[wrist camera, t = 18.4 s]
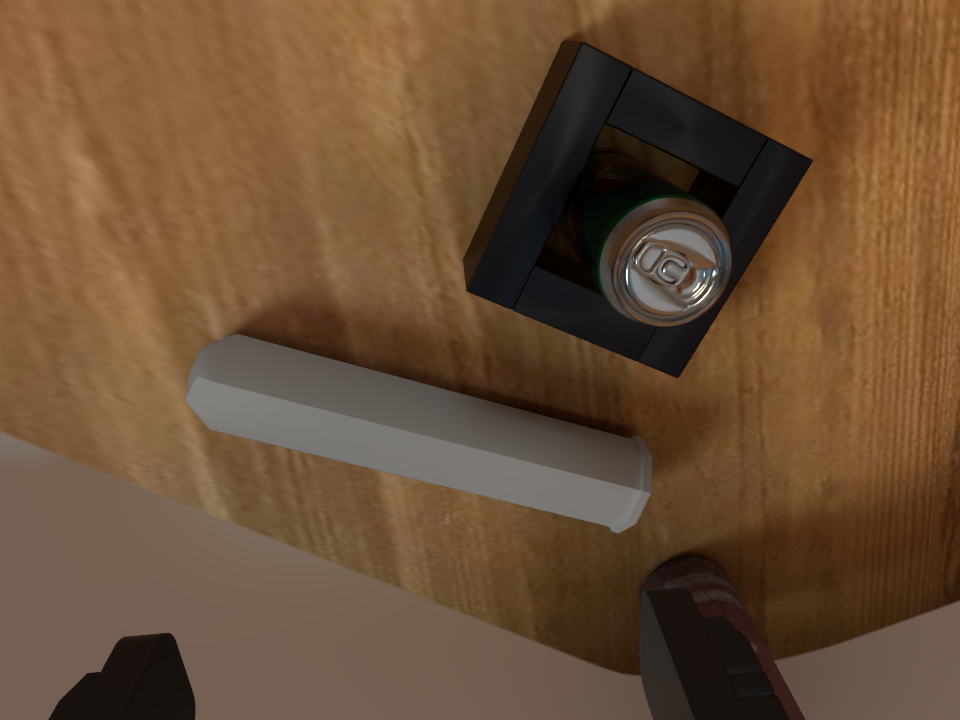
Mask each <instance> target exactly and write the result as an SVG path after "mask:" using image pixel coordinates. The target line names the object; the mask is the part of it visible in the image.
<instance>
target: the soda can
mask: <svg viewBox="0 0 960 720" xmlns="http://www.w3.org/2000/svg"><path fill="white" fill-rule="evenodd" d="M557 221H558V224H559V226H560V228H561V230H562V232H563V234H564V235H565V237H566V238H567V240H568V241H569V243H570V245H571V246H572V248H573V249H574V251H575V252H576V254H577V255H578V257H579V259H580V260H581V262H582V263H583V265H584V266H585V268H586V269H587V271H588V273H589V274H590V276H591V277H592V279H593V280H594V282H595V284H596V285H597V287H598V288H599V290H600V291H601V293H602V294H603V296H604V298H605V299H606V300H607V302H608V303H609V305H610V306H611V307H612V308H613V309H614V310H615V311H616V312H617V313H619V314H620V315H622V316H623V317H625V318H627V319H629V320H631V321H633V322H636V323H640V324H644V325H654V326H675V325H680V324H684V323H687V322H690V321H692V320H694V319H696V318H698V317H699V316H701V315H702V314H704V313H705V312H706V311H707V310H709V309H710V308H711V307H712V306H713V305H714V304H715V303H716V301H717V300H718V299H719V298H720V296H721V295H722V293H723V291H724V290H725V287H726V285H727V283H728V280H729V277H730V273H731V265H732V261H731V244H730V239H729V234H728V232H727V229H726V227H725V225H724V223H723V221H722V220H721V218H720V217H719V216H718V215H717V213H716V212H715V211H714V210H713V209H712V208H710V207H709V206H708V205H706V204H705V203H703V202H702V201H700V200H699V199H697V198H695V197H694V196H692V195H691V194H689V193H687V192H686V191H684V190H683V189H681V188H679V187H678V186H676V185H675V184H673V183H671V182H670V181H668V180H667V179H665V178H663V177H662V176H660V175H659V174H657V173H655V172H654V171H652V170H651V169H649V168H647V167H646V166H644V165H643V164H641V163H639V162H638V161H636V160H635V159H633V158H631V157H629V156H627V155H624V154H621V153H616V152H602V153H597V154H593V155H591V156H589V157H588V159H587V161H586V163H585V165H584V167H583V169H582V171H581V173H580V175H579V177H578V179H577V181H576V183H575V185H574V187H573V189H572V191H571V193H570V195H569V197H568V199H567V201H566V203H565V205H564V207H563V209H562V211H561V213H560V215H559V217H558V219H557Z"/></svg>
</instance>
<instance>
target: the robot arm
mask: <svg viewBox="0 0 960 720" xmlns="http://www.w3.org/2000/svg"><path fill="white" fill-rule="evenodd" d="M639 660H640V670H641V677H642V683H643V687H644V691H645V694H646V698H647V701H648V705H649V708H650V711H651V714H652V717H653V720H790V719H789V717H788V715H787V713H786V711H785V709H784V707H783V705H782V703H781V701H780V699H779V697H778V695H775V692H774V688H773V686H772V684H771V682H770V680H769V678H768V676H767V674H766V672H763V669H762V665H761V663H760V661H759V659H758V657H757V655H756V653H755V651H754V649H753V647H752V645H751V643H750V642H749V640H748V638H747V637H746V636H745V635H744V634H742V633H741V632H740V631H739V630H738V629H737V628H736V627H735V626H734V625H733V624H732V623H731V622H729V621H728V620H727V619H726V618H725V617H724V616H716V617H706V618H702V616H701V614H700V612H699V610H698V607H697V605H696V603H695V601H694V599H693V597H692V594H691V592H690V591H689V589H688V588H687V587H677V588H666V589H655V590H644V591H643V592H642V595H641V614H640V648H639ZM49 720H195V699H194V694H193V691H192V688H191V685H190V682H189V679H188V676H187V673H186V670H185V667H184V664H183V661H182V658H181V655H180V652H179V649H178V646H177V643H176V640H175V638H174V637H173V635H172V634H170V633H160V634H151V635H139V636H129V637H123V638H121V639H120V640H119V641H118V642H117V644H116V645H115V647H114V649H113V651H112V652H111V654H110V656H109V658H108V660H107V662H106V663H105V665H104V667H103V669H102V671H101V672H95V673H87V674H86V675H85V676H84V677H83V678H82V679H81V680H80V681H79V682H78V683H77V684H76V685H75V686H74V687H73V688H72V689H71V690H70V691H69V692H68V693H67V694H66V695H65V696H64V697H63V698H62V699H61V700H60V701H59V702H58V704H57V706H56V707H55V709H54V711H53V713H52V714H51V716H50V718H49Z"/></svg>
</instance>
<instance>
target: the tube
mask: <svg viewBox="0 0 960 720" xmlns="http://www.w3.org/2000/svg"><path fill="white" fill-rule="evenodd" d="M185 400H186V401H187V403H188V404H189V405H190V407H191V408H192V410H193V411H194V412H195V413H196V414H197V416H198V417H199V418H200V419H201V420H202V421H203V422H204V423H205V424H206V426H207V427H208V428H209V429H211V430H215V431H219V432H223V433H227V434H231V435H235V436H239V437H244V438H248V439H252V440H256V441H260V442H264V443H268V444H272V445H276V446H281V447H285V448H289V449H293V450H297V451H301V452H305V453H309V454H313V455H318V456H322V457H326V458H330V459H334V460H338V461H342V462H346V463H350V464H355V465H359V466H363V467H367V468H371V469H375V470H379V471H383V472H387V473H392V474H396V475H400V476H404V477H408V478H412V479H416V480H420V481H424V482H429V483H433V484H437V485H441V486H445V487H449V488H453V489H457V490H461V491H466V492H470V493H474V494H478V495H482V496H486V497H490V498H494V499H498V500H503V501H507V502H511V503H515V504H519V505H523V506H527V507H531V508H536V509H540V510H544V511H548V512H552V513H556V514H560V515H564V516H568V517H573V518H577V519H581V520H585V521H589V522H593V523H597V524H601V525H605V526H608V527H610V529H611V531H612V532H615V533H620V532H622V531H624V530H626V529H627V528H629V527H631V526H633V525H635V524H636V523H637V522H638V520H639V518H640V516H641V514H642V512H643V510H644V508H645V506H646V504H647V502H648V500H649V498H650V496H651V494H652V463H653V458H652V456H651V454H650V452H649V450H648V448H647V446H646V443H645V441H644V439H643V438H642V437H639V436H634V437H633V438H626V437H622V436H618V435H615V434H611V433H607V432H603V431H600V430H596V429H592V428H588V427H585V426H581V425H577V424H573V423H570V422H566V421H562V420H558V419H555V418H551V417H547V416H543V415H540V414H536V413H532V412H528V411H525V410H521V409H517V408H513V407H510V406H506V405H502V404H498V403H494V402H491V401H487V400H483V399H479V398H476V397H472V396H468V395H464V394H461V393H457V392H453V391H449V390H446V389H442V388H438V387H434V386H431V385H427V384H423V383H419V382H416V381H412V380H408V379H404V378H401V377H397V376H393V375H389V374H386V373H382V372H378V371H374V370H371V369H367V368H363V367H359V366H356V365H352V364H348V363H344V362H341V361H337V360H333V359H329V358H326V357H322V356H318V355H314V354H311V353H307V352H303V351H299V350H296V349H292V348H288V347H284V346H281V345H277V344H273V343H269V342H266V341H262V340H258V339H254V338H251V337H247V336H243V335H239V334H236V335H233V336H230V337H227V338H224V339H220V340H217V341H215V342H213V343H211V344H210V345H208V346H206V347H204V348H203V349H201V350H200V351H199V353H198V355H197V357H196V360H195V362H194V364H193V366H192V368H191V371H190V373H189V380H188V386H187V392H186V399H185Z"/></svg>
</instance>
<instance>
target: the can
mask: <svg viewBox="0 0 960 720" xmlns="http://www.w3.org/2000/svg"><path fill="white" fill-rule="evenodd" d="M677 587H687V588H688V589H689V591H690V592H691V594H692V597H693V599H694V601H695V603H696V605H697V607H698V610H699V612H700V614H701V616H702V618H706V617H716V616H724V617H725V618H726V619H727V620H728V621H729V622H731V623H732V624H733V625H734V626H735V627H736V628H737V629H738V630H739V631H740V632H741V633H742V634H744V635H745V636H746V637H747V638H748V640H749V642H750V643H751V645H752V647H753V649H754V651H755V653H756V655H757V657H758V659H759V661H760V663H761V665H762V669H763V672H766V674H767V676H768V678H769V680H770V682H771V684H772V686H773V688H774V692H775V695H778V697H779V699H780V701H781V703H782V705H783V707H784V709H785V711H786V713H787V715H788V717H789V719H790V720H805V718H804V716H803V714H802V712H801V711H800V709H799V707H798V705H797V703H796V701H795V699H794V698H793V696H792V694H791V692H790V690H789V688H788V686H787V685H786V683H785V681H784V679H783V677H782V675H781V673H780V672H779V670H778V668H777V666H776V664H775V662H774V660H773V659H772V657H771V655H770V653H769V651H768V649H767V647H766V646H765V644H764V642H763V640H762V638H761V636H760V634H759V632H758V631H757V629H756V627H755V625H754V623H753V621H752V619H751V618H750V616H749V614H748V612H747V610H746V608H745V606H744V605H743V603H742V601H741V599H740V597H739V595H738V593H737V592H736V590H735V588H734V586H733V584H732V582H731V580H730V579H729V577H728V576H727V574H726V573H725V571H724V570H723V569H722V568H721V567H719V566H718V565H716V564H715V563H713V562H710V561H708V560H704V559H701V558H697V557H682V558H678V559H674V560H670V561H668V562H666V563H665V564H663V565H661V566H659V567H658V568H657V569H656V570H655V571H653V572H652V573H651V574H650V575H649V577H648V579H647V581H646V582H645V584H644V586H643V588H642V592H643V591H644V590H655V589H666V588H677ZM642 592H641V595H642ZM640 604H641V598H640Z"/></svg>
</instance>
